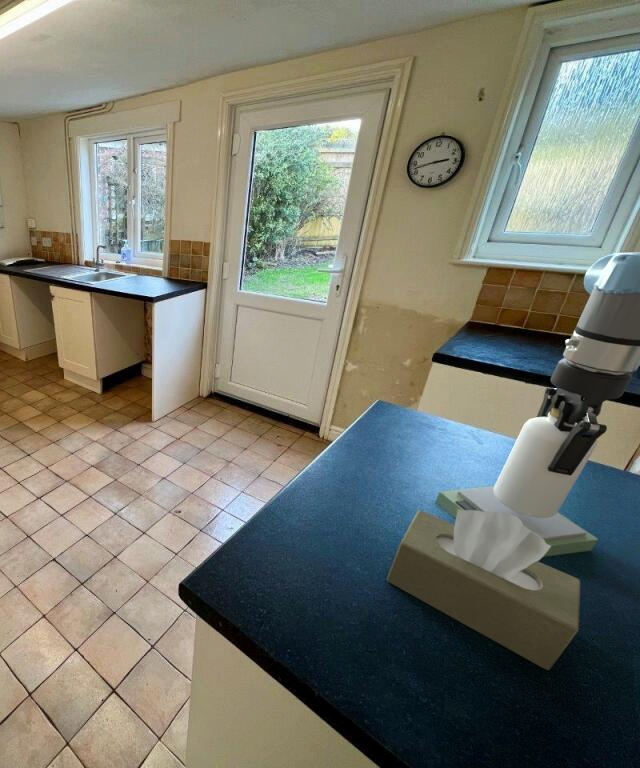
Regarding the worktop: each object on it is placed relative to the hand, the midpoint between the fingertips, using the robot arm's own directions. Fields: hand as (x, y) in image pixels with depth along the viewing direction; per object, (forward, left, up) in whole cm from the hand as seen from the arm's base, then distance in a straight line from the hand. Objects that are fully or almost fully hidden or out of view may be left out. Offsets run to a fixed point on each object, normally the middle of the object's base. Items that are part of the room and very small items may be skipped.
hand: (528, 492), depth 70 cm
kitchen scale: (+1, 0, -7) cm, 7 cm away
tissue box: (+21, +12, -7) cm, 25 cm away
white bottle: (0, 0, -3) cm, 3 cm away
